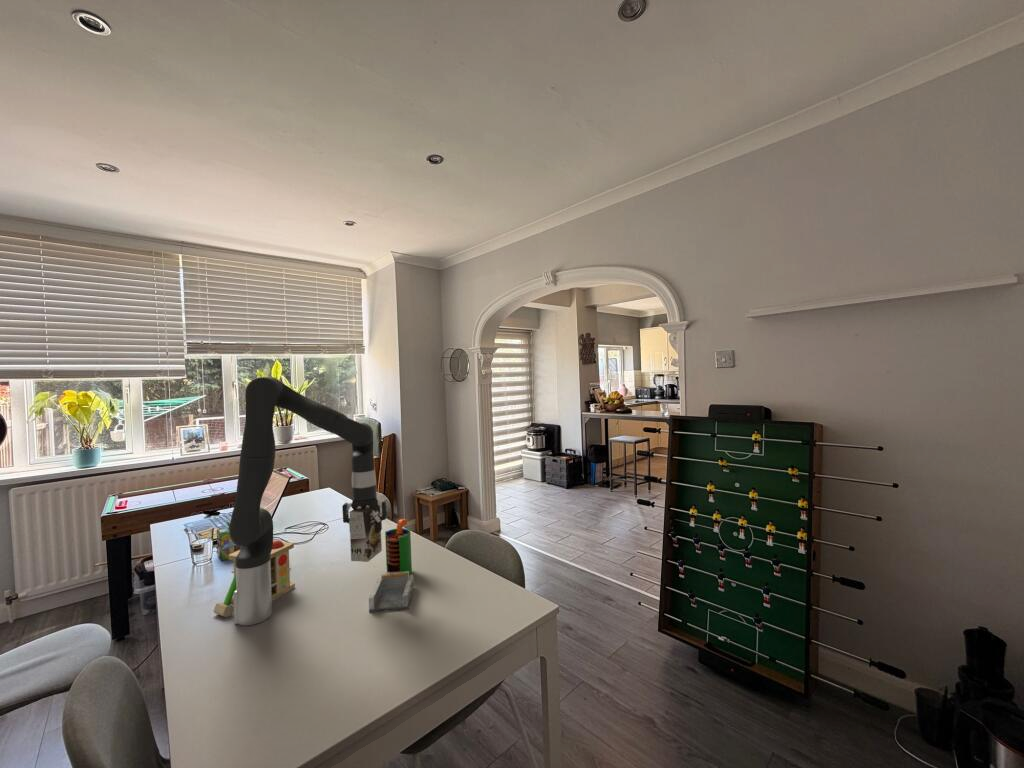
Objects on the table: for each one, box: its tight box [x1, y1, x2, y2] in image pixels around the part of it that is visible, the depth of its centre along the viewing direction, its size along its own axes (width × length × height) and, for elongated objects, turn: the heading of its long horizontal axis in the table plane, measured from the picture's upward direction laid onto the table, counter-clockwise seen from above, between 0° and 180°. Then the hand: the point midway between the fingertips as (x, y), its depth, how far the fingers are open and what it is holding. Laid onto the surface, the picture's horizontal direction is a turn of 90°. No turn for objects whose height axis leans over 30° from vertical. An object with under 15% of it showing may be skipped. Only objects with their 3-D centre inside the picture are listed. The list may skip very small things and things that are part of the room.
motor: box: [384, 518, 413, 575], centre depth 159 cm, size 10×9×20 cm
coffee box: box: [349, 505, 383, 563], centre depth 139 cm, size 9×6×16 cm
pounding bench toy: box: [213, 540, 296, 618], centre depth 141 cm, size 23×14×18 cm, turn 162°
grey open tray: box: [368, 571, 415, 613], centre depth 140 cm, size 12×14×6 cm
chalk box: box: [216, 520, 242, 562], centre depth 180 cm, size 9×9×15 cm
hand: (366, 533), depth 139 cm, fingers closed on coffee box, 7 cm apart
